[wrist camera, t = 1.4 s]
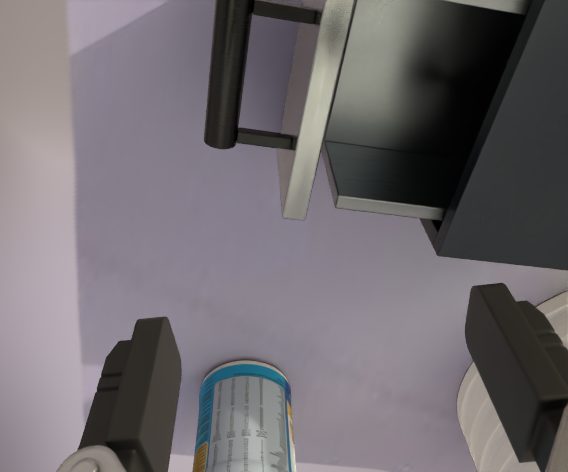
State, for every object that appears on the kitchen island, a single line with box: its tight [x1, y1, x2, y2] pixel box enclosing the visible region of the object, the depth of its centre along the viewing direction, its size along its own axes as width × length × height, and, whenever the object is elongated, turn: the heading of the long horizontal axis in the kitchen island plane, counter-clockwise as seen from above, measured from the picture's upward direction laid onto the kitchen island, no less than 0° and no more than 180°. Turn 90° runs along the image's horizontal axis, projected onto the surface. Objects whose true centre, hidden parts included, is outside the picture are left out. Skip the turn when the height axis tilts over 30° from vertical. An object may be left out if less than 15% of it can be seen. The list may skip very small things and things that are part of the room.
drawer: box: [204, 0, 533, 221], centre depth 26 cm, size 19×13×8 cm, turn 81°
